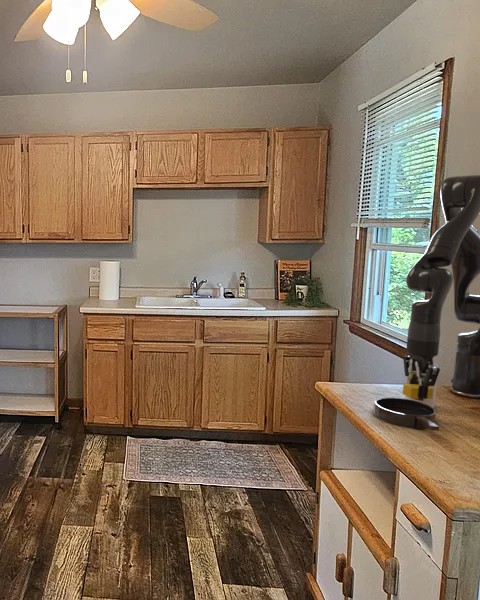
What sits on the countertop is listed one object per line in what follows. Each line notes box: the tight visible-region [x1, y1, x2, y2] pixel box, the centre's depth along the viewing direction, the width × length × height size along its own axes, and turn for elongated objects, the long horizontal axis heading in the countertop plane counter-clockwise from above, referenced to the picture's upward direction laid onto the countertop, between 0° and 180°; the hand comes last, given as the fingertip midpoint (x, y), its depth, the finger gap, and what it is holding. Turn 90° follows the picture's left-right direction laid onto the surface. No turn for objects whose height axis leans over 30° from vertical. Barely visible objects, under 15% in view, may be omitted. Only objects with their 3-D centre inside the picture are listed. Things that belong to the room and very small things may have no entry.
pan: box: [372, 396, 437, 429], centre depth 146 cm, size 15×15×4 cm
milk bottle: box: [404, 356, 439, 409], centre depth 154 cm, size 8×8×20 cm
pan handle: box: [414, 416, 440, 432], centre depth 135 cm, size 7×2×3 cm, turn 175°
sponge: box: [402, 383, 433, 399], centre depth 143 cm, size 6×4×3 cm, turn 85°
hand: (417, 395), depth 143 cm, fingers closed on sponge, 4 cm apart
